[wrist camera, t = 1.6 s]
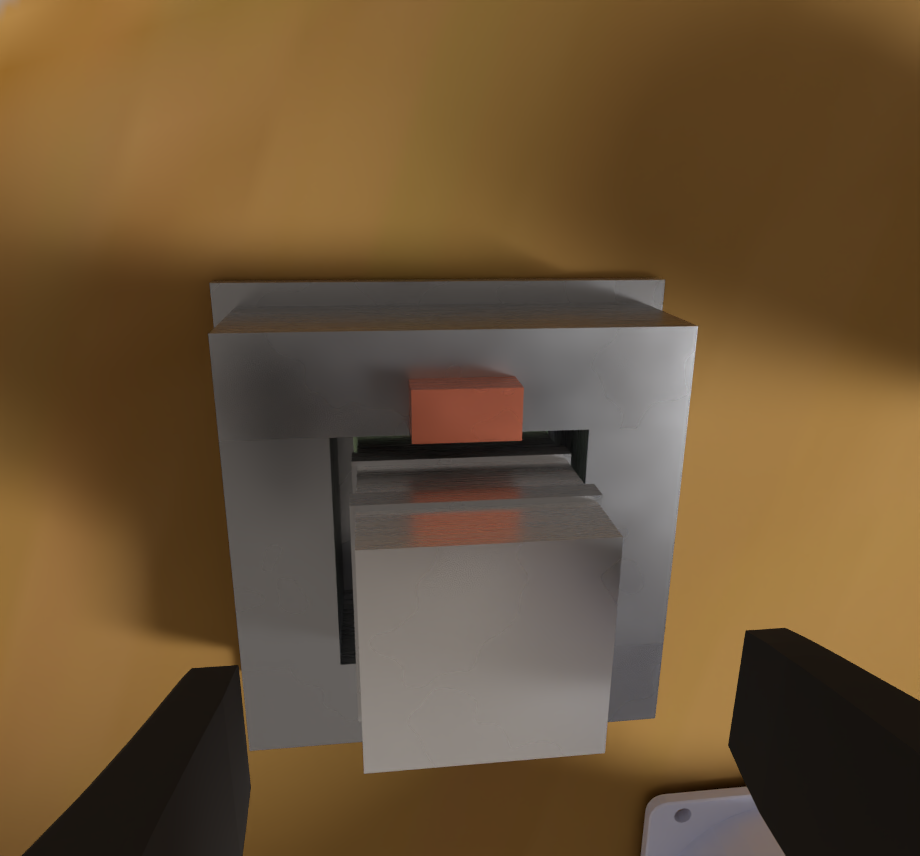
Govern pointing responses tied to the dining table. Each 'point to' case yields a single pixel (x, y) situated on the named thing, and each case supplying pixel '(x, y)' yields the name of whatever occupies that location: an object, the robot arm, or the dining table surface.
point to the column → (479, 602)
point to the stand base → (429, 422)
